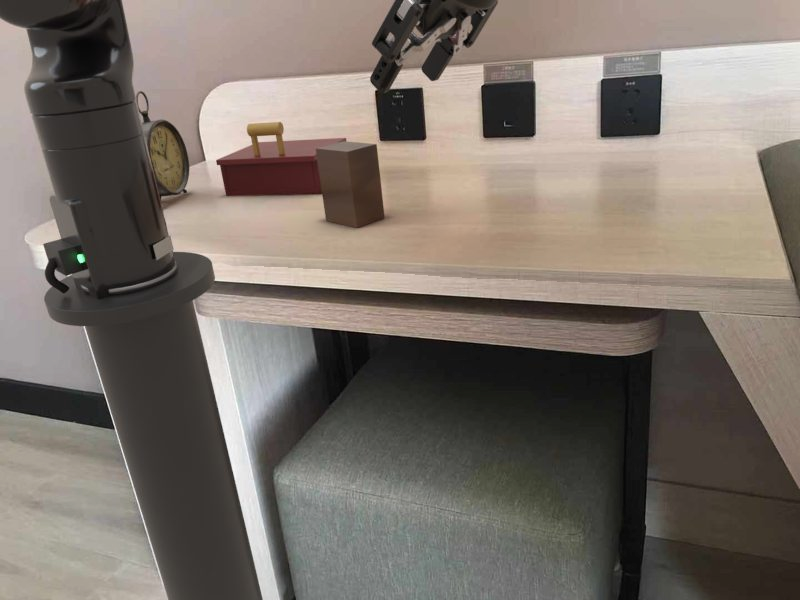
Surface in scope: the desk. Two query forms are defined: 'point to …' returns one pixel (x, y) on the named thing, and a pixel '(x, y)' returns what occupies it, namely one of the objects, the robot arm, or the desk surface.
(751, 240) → the desk surface
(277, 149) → the box lid
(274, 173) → the box base
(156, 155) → the alarm clock
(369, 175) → the bookend
